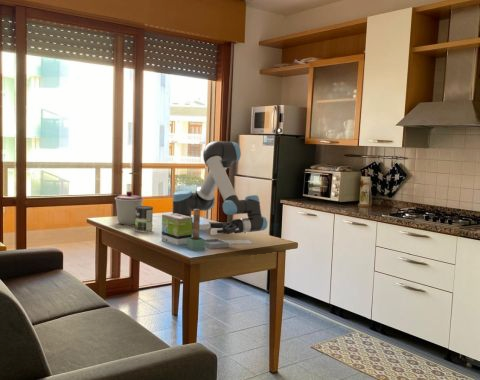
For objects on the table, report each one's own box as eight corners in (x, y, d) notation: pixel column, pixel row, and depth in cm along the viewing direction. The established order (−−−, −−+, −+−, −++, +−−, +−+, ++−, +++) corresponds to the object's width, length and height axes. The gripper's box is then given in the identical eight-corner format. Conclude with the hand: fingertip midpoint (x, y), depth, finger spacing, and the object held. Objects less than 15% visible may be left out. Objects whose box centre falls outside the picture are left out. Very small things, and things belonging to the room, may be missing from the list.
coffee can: (137, 232, 275) (138, 208, 274) (133, 229, 284) (133, 206, 283) (154, 231, 280) (155, 208, 278) (149, 228, 289) (150, 205, 288)
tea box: (160, 241, 255) (161, 214, 253) (175, 238, 262) (176, 212, 261) (177, 246, 244) (178, 218, 243) (192, 243, 251) (193, 216, 250)
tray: (199, 244, 250) (199, 239, 250) (217, 243, 256) (218, 238, 255) (209, 249, 240) (209, 244, 240) (228, 247, 245) (228, 242, 245)
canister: (133, 220, 314) (133, 189, 312) (148, 224, 302) (149, 191, 300) (108, 222, 301) (109, 190, 299) (124, 227, 289) (124, 193, 287)
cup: (186, 248, 240) (186, 237, 240) (198, 247, 244) (199, 236, 243) (191, 251, 234) (192, 240, 234) (204, 250, 238) (205, 239, 237)
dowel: (191, 247, 240) (192, 209, 238) (197, 247, 241) (198, 208, 239) (193, 249, 237) (195, 209, 235) (199, 248, 239) (201, 209, 237)
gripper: (252, 237, 240) (215, 241, 229) (229, 228, 261) (194, 232, 250) (253, 222, 239) (216, 226, 228) (229, 215, 260) (194, 218, 249)
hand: (204, 229), depth 239 cm, fingers open, 13 cm apart
